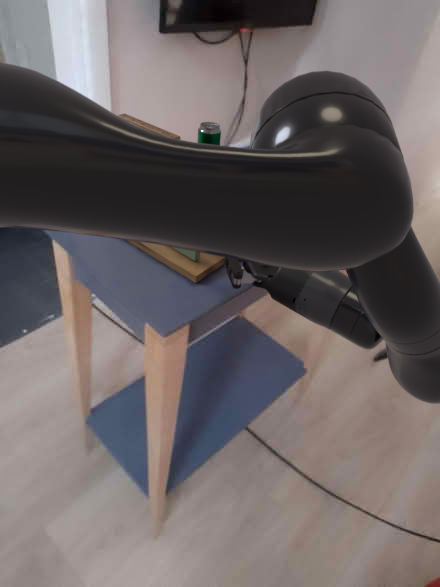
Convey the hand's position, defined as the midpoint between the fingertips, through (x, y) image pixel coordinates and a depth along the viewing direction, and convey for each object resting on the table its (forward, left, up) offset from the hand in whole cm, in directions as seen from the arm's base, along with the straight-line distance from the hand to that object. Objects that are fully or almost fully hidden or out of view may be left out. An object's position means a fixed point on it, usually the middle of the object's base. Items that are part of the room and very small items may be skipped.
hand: (214, 236), depth 60 cm
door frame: (-6, +11, -8) cm, 15 cm away
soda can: (+12, +35, -8) cm, 38 cm away
